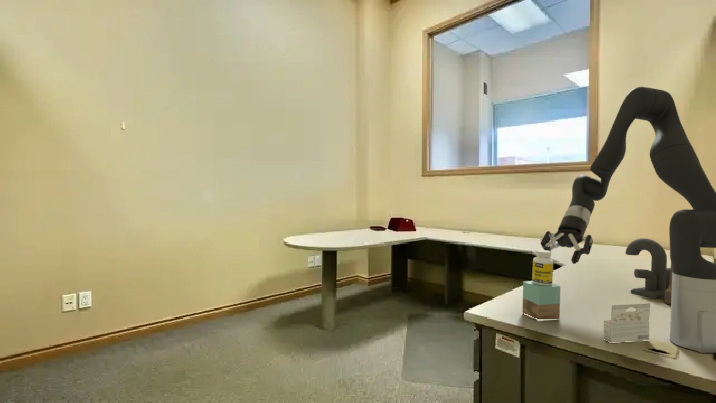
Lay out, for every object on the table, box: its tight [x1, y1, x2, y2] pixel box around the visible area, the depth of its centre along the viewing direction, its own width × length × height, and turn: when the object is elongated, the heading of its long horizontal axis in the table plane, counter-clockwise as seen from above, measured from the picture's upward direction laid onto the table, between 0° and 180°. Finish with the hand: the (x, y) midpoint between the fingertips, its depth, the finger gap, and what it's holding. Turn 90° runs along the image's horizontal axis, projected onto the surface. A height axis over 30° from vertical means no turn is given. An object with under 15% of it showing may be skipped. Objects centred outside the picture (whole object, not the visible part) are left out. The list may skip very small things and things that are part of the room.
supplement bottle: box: [531, 249, 554, 286], centre depth 109 cm, size 5×5×10 cm
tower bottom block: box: [521, 297, 561, 320], centre depth 109 cm, size 7×7×5 cm
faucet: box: [624, 237, 671, 300], centre depth 139 cm, size 18×16×20 cm
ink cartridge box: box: [603, 303, 651, 342], centre depth 92 cm, size 2×11×10 cm, turn 99°
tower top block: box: [522, 280, 561, 305], centre depth 109 cm, size 7×7×5 cm
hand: (558, 260), depth 116 cm, fingers open, 8 cm apart
